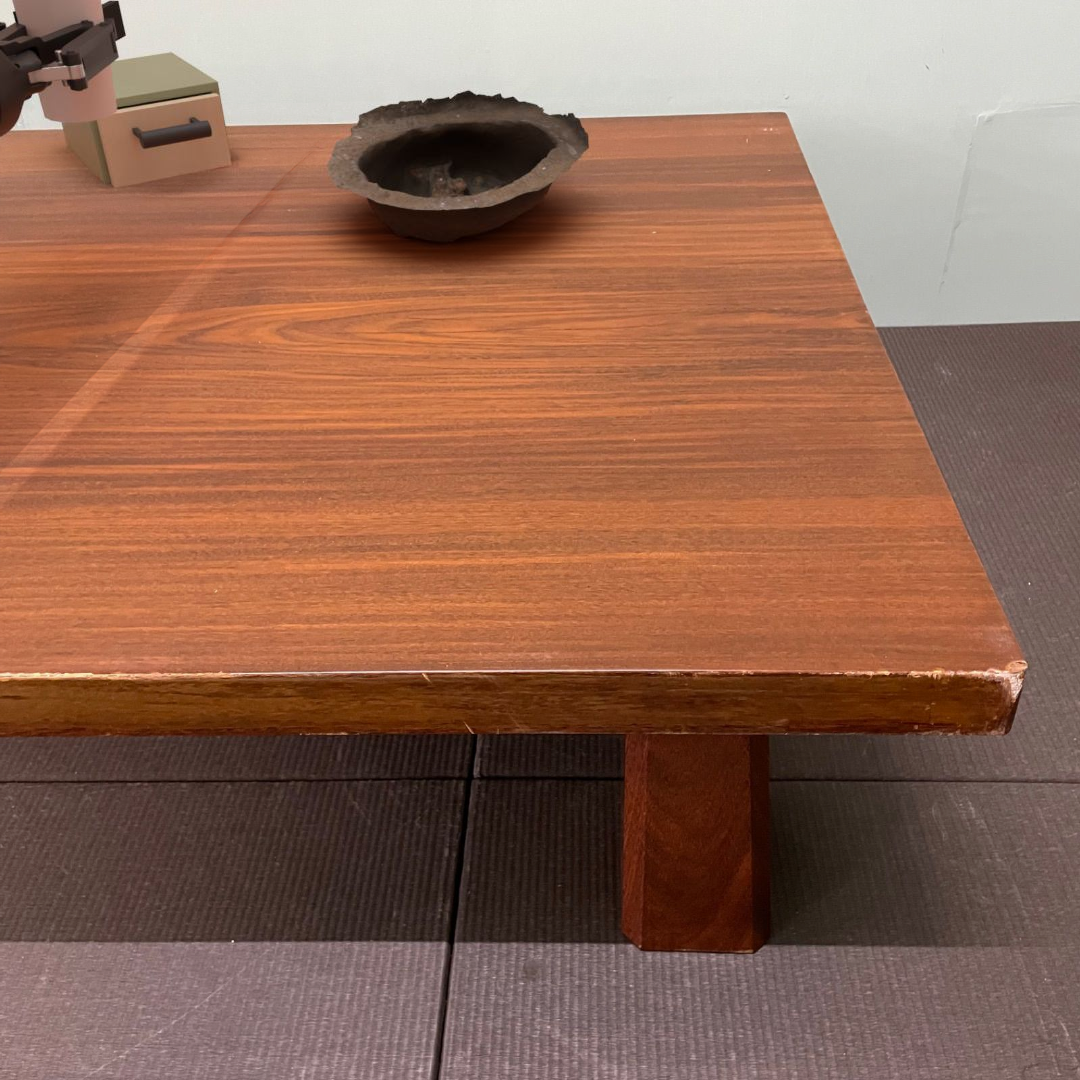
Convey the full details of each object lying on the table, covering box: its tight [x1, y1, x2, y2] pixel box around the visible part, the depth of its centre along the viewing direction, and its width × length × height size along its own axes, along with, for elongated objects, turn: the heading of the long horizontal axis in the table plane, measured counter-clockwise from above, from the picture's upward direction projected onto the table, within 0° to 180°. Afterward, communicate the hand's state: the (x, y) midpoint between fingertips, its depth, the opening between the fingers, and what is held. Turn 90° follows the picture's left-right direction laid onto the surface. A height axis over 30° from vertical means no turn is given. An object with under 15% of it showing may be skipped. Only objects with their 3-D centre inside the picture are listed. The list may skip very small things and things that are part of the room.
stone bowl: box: [326, 89, 590, 243], centre depth 113 cm, size 25×25×9 cm
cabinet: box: [60, 51, 233, 186], centre depth 128 cm, size 16×14×10 cm
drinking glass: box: [11, 0, 117, 123], centre depth 93 cm, size 7×7×10 cm
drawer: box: [97, 93, 233, 189], centre depth 125 cm, size 19×13×8 cm, turn 32°
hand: (99, 18), depth 96 cm, fingers closed on drinking glass, 3 cm apart
